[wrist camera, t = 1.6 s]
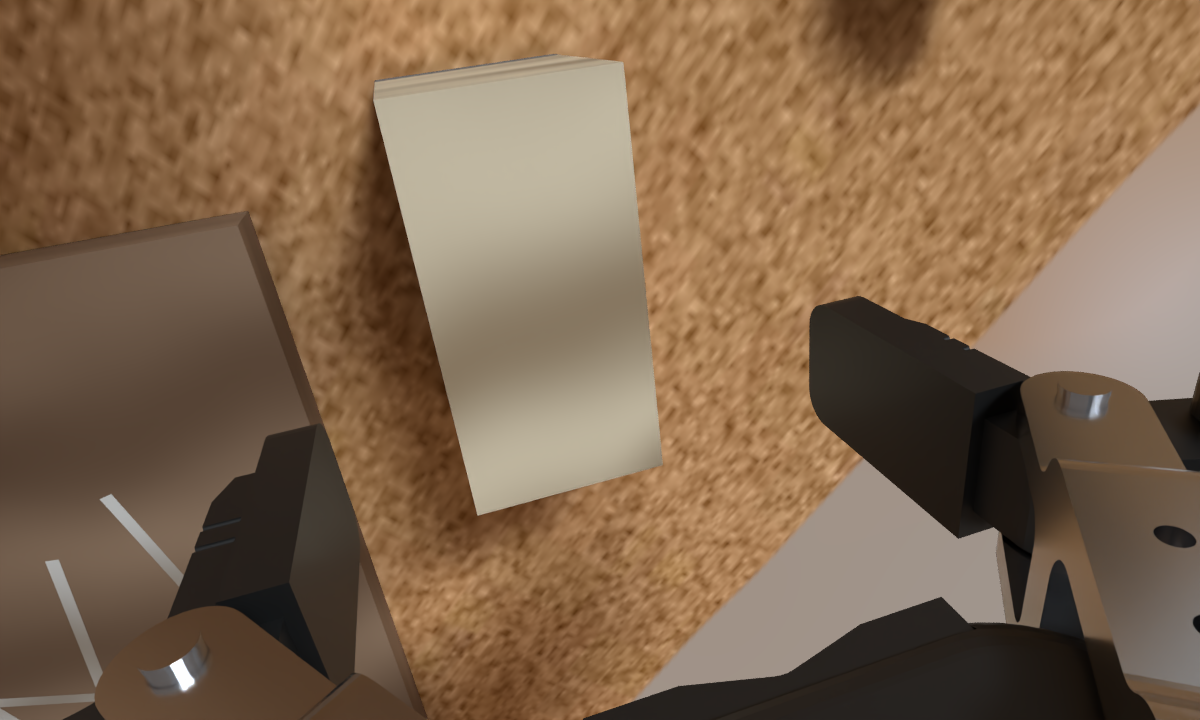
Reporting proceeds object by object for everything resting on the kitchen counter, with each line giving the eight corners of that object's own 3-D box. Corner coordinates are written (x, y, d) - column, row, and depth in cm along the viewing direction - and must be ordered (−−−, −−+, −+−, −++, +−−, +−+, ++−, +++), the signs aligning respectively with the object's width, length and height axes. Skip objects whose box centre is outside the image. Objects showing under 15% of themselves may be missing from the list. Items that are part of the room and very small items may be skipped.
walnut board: (-572, 358, 14) (-667, 391, 13) (247, 211, 18) (237, 225, 16) (-49, 891, 23) (-75, 942, 22) (432, 732, 26) (434, 768, 25)
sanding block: (375, 80, 17) (373, 100, 12) (552, 54, 18) (622, 61, 13) (453, 397, 21) (477, 515, 16) (595, 363, 22) (662, 465, 17)
